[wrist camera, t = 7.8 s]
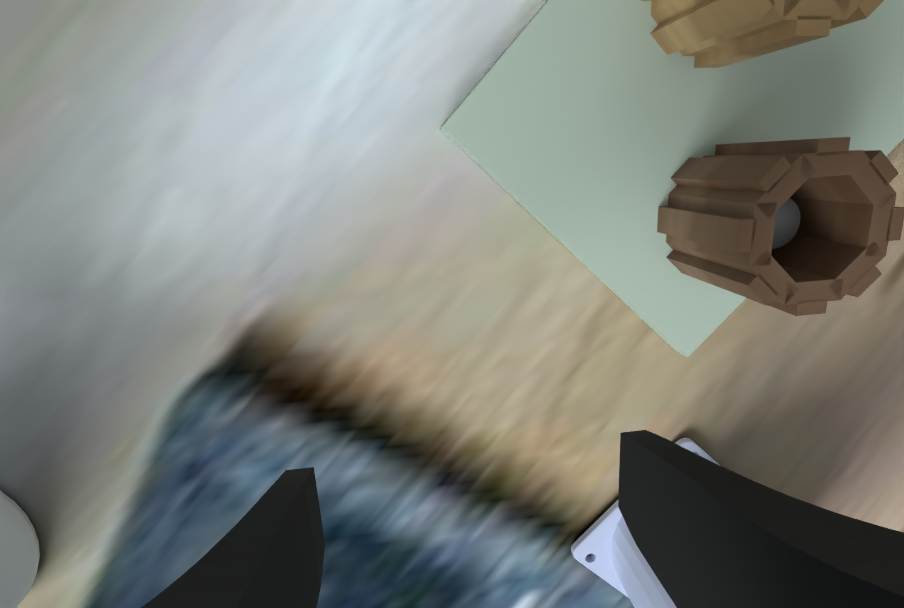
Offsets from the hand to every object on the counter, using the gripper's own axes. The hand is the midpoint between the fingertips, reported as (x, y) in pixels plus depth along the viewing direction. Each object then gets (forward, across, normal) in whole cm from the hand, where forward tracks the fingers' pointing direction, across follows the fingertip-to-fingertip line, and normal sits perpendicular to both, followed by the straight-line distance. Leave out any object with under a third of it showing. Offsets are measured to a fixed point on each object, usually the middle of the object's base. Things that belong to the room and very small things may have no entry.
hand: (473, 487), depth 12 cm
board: (+10, -11, -9) cm, 18 cm away
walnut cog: (+9, -12, -5) cm, 16 cm away
